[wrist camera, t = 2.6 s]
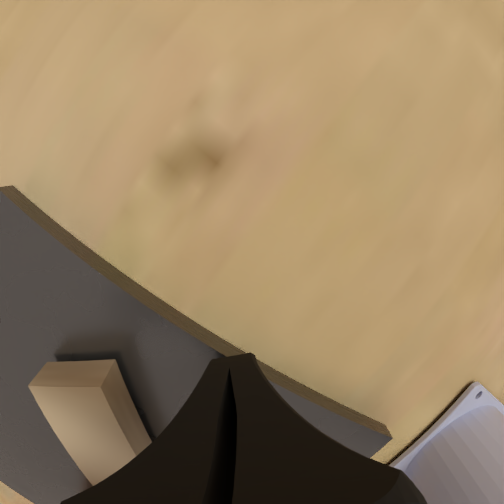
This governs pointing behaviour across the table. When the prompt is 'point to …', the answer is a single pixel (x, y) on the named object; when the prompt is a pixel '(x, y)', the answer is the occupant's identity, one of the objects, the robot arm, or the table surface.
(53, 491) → the base plate
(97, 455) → the link
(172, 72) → the table surface
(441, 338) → the table surface
